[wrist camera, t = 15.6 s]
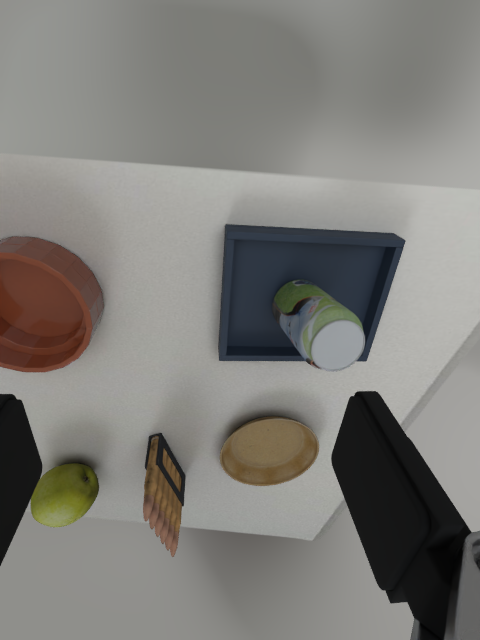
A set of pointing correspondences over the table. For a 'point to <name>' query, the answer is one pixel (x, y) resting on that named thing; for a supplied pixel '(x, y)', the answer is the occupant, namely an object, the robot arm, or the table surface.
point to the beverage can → (318, 326)
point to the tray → (299, 264)
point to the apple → (64, 494)
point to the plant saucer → (269, 451)
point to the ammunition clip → (163, 491)
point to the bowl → (45, 305)
